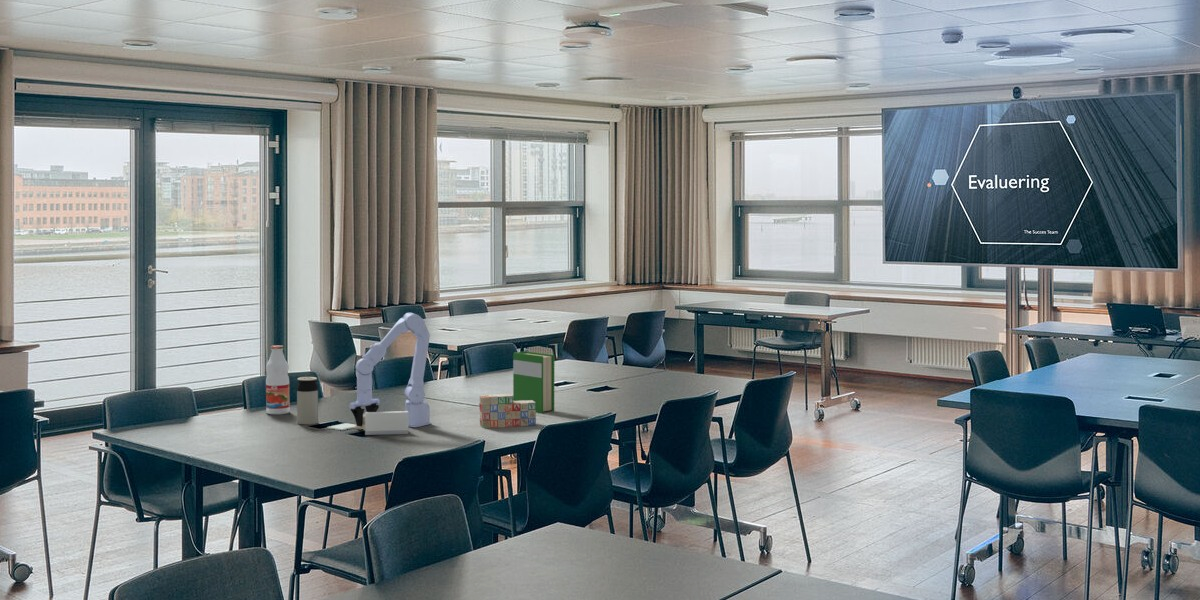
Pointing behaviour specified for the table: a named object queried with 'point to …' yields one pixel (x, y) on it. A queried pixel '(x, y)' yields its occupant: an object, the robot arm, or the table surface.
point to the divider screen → (386, 423)
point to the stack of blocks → (506, 411)
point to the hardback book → (534, 379)
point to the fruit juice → (277, 383)
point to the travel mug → (307, 401)
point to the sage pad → (342, 426)
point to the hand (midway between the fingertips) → (364, 424)
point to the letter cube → (362, 424)
